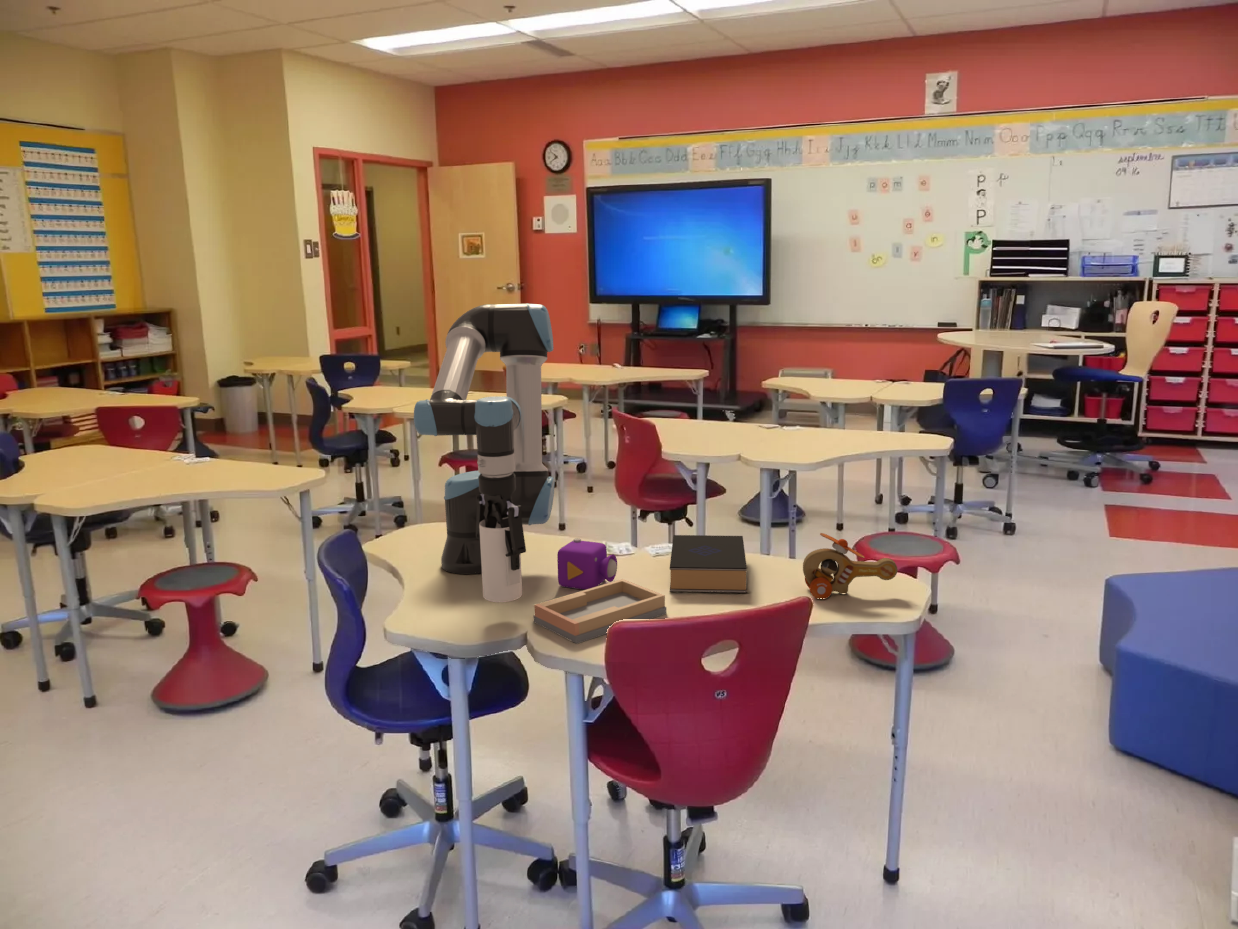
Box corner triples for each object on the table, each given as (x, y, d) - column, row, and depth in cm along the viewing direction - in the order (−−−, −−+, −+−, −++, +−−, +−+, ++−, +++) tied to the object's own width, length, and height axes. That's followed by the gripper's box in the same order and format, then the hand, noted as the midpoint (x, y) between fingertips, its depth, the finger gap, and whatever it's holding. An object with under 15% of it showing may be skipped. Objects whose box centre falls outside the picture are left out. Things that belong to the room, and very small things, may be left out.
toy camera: (613, 594, 212) (612, 552, 210) (555, 591, 215) (553, 549, 213) (622, 578, 222) (622, 538, 220) (567, 575, 225) (565, 535, 223)
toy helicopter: (799, 587, 214) (801, 530, 212) (890, 587, 214) (893, 529, 211) (805, 600, 206) (807, 540, 204) (900, 600, 206) (903, 540, 203)
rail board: (533, 622, 196) (533, 604, 195) (621, 595, 211) (621, 578, 210) (576, 643, 185) (576, 624, 184) (666, 613, 200) (666, 595, 199)
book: (742, 561, 235) (742, 535, 234) (746, 596, 211) (747, 568, 209) (673, 560, 237) (673, 534, 235) (669, 594, 212) (669, 567, 211)
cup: (484, 588, 201) (480, 517, 197) (522, 586, 202) (519, 515, 198) (482, 603, 193) (477, 529, 189) (521, 601, 194) (518, 527, 190)
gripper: (454, 467, 197) (460, 569, 202) (509, 486, 181) (514, 596, 187) (485, 461, 201) (490, 561, 207) (541, 479, 186) (545, 587, 191)
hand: (501, 577), depth 197 cm, fingers closed on cup, 8 cm apart
